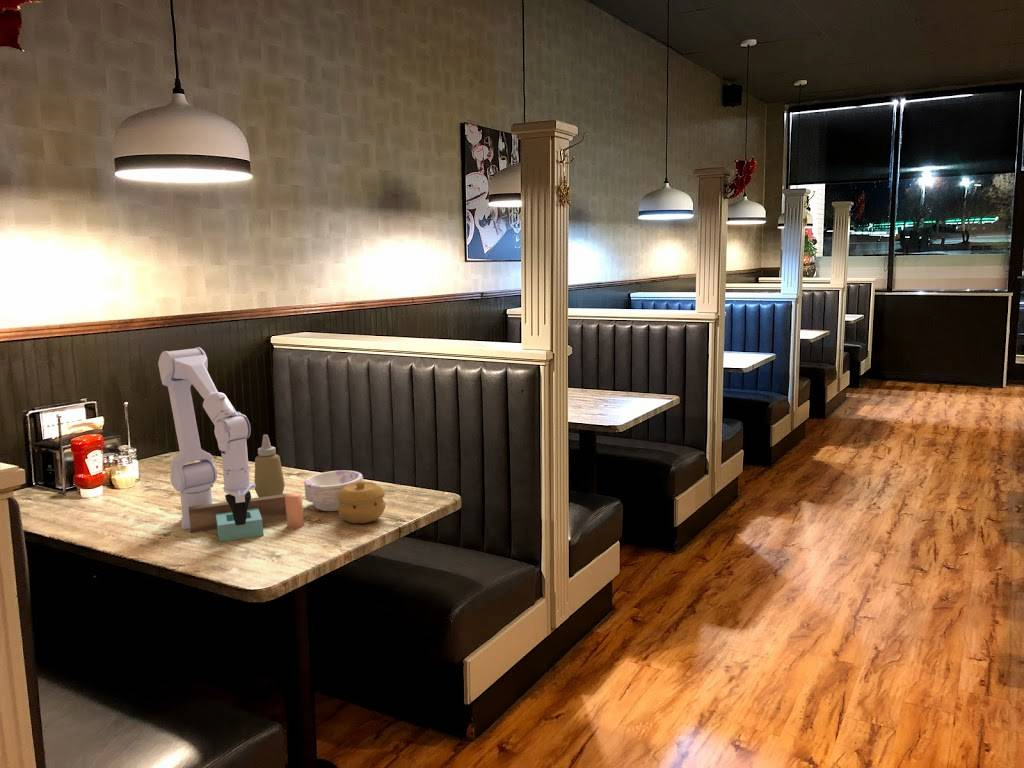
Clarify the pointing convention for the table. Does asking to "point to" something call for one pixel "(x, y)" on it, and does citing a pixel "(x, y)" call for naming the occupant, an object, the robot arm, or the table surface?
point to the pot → (361, 502)
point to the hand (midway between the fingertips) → (240, 524)
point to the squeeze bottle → (268, 471)
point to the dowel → (294, 510)
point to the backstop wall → (206, 514)
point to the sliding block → (239, 526)
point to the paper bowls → (329, 488)
